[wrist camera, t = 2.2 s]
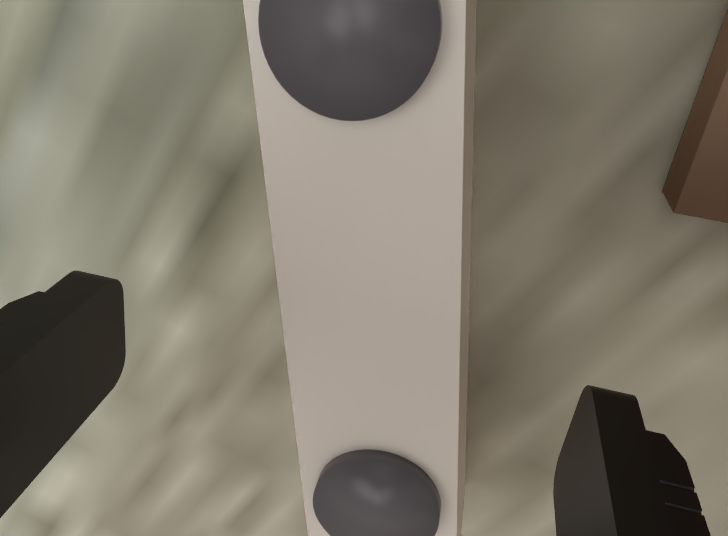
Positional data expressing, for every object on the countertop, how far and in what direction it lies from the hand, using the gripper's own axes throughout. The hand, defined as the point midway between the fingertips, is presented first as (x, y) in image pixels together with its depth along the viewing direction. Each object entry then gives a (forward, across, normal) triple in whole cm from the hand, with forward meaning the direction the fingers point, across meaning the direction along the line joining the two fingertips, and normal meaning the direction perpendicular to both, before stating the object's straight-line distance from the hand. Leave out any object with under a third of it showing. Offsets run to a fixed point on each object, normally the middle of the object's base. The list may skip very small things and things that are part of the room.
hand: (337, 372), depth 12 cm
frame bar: (+6, 0, 0) cm, 6 cm away
